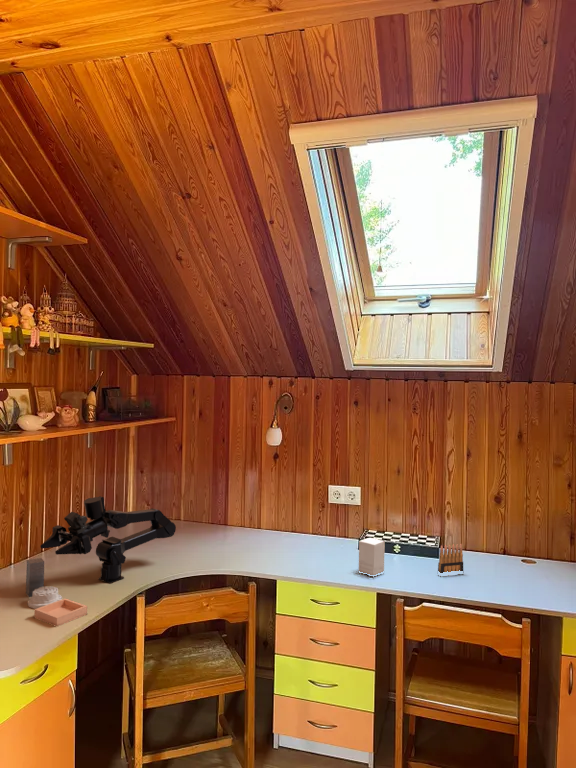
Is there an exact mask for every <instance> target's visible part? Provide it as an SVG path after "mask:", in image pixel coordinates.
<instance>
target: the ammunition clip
mask: <svg viewBox="0 0 576 768" xmlns="http://www.w3.org/2000/svg"><path fill="white" fill-rule="evenodd" d="M463 556H464V554H463V545H462V543H460V544H458V543H456V545H455V544H454V543H453V544H452V546H451V544H448V546H447V544H445V545H444V547H443V544H442V545H440V549H439V557H438V558H439V562H438V564H437V572H438V571H439V572H440V573H443V572H447V571H448V572H451V571H459V570H460V571H463V572H464V561H463V560H464V559H463V558H464V557H463Z"/></svg>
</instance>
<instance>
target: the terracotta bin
mask: <svg viewBox="0 0 576 768" xmlns="http://www.w3.org/2000/svg"><path fill="white" fill-rule="evenodd" d="M86 615H88V605H85V604H83V603H79V602H77V601H73V600H71V599H68V598H62V600H59V601H56V602H54V603H51V604H48V605H45V606H43V607H40V608H37V609H35V608H34V619H37V620H39V621H41V620H42V621H41V622H44V623H46V622H47V624H49V623H50V624H49V625H51V624H52V625H51V626H54V625H55V627H56V626H57V627H59V625H60V626H62V625H65V624H67V623H70V622H71V621H74V620H76V619H79V618H82V617H85V616H86ZM69 621H70V622H69ZM64 623H65V624H64Z"/></svg>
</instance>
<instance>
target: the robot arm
mask: <svg viewBox="0 0 576 768" xmlns="http://www.w3.org/2000/svg"><path fill="white" fill-rule="evenodd" d="M83 505H84V510H85V515H86V516H85V515H81V514H79V513H77V512H74V511H70V512H69V513H68V514H67V515H66V516H64V521H66V523H67V524H68V527H65V526H61V525H59V524H57V525H54V526H53V527H52V534H51V535H50V537H48V538H47V539H46V540H45V541H44V542H42V544H40V549H42V550H43V549H50V548H57V547H59V548H58V549H57V550H55V555H58V556H59V555H86V554H89V553H90V552H91V550H92V549H93V547H92V542H93V541H94V538H95V537H98V536H100V537H104V538H105V539H101V541H100V542H99V543H98V544H97V546H96V548H95V554H96V557H98V561H100V562H102V563H101V568H100V577H98V581H102V582H106V583H109V584H112V583H115V582H118V581H121V580H123V579H125V576H124V575H122V565H123V564H125V561H126V559H127V558H126V556H125V555H124V553H125V552H127V551H128V550H129V551H130V550H132V549H134V548H136V547H139V546H141V545H143V544H146V543H149V542H151V541H153V540H156V539H166V538H167V539H168V538H172V537H173V536H175V532H176V531H177V529H176V524H175V523H174V522H172V521H171V520H170V519H169V518H168V517H167V516H166V515H164V513H163V512H162V511H161V510H160V509H156V508H150V509H142V510H141V509H139V510H132V511H131V510H129V511H121V510H113V509H108V510H106V507H105V506H106V505H105V498H104V496H101V495H100V496H95V497H88V498H86V499H84V501H83ZM88 519H90V521H88ZM87 521H88V522H87ZM142 522H150V525H151V526H150V527H149V528H148V527H147V528H146V529H143V530H141V531H138V532H135V533H133V534H130V535H129V536H125V537H123V538H117V537H115V536H110V532H111V530H109V529H108V527H109V528H112V529H116V530H118V529H122V528H124V527H126V526H128V525H130V524H135V523H142ZM67 529H68V531H67Z"/></svg>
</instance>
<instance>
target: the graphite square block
mask: <svg viewBox="0 0 576 768" xmlns="http://www.w3.org/2000/svg"><path fill="white" fill-rule="evenodd" d="M25 577H26V578H25V594H26V596H28V598H32V594H33V591H34V590H35V589H38V588H39V587H45V560H44V559H43V558H42V557H37V558H32V559H26V575H25Z"/></svg>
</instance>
